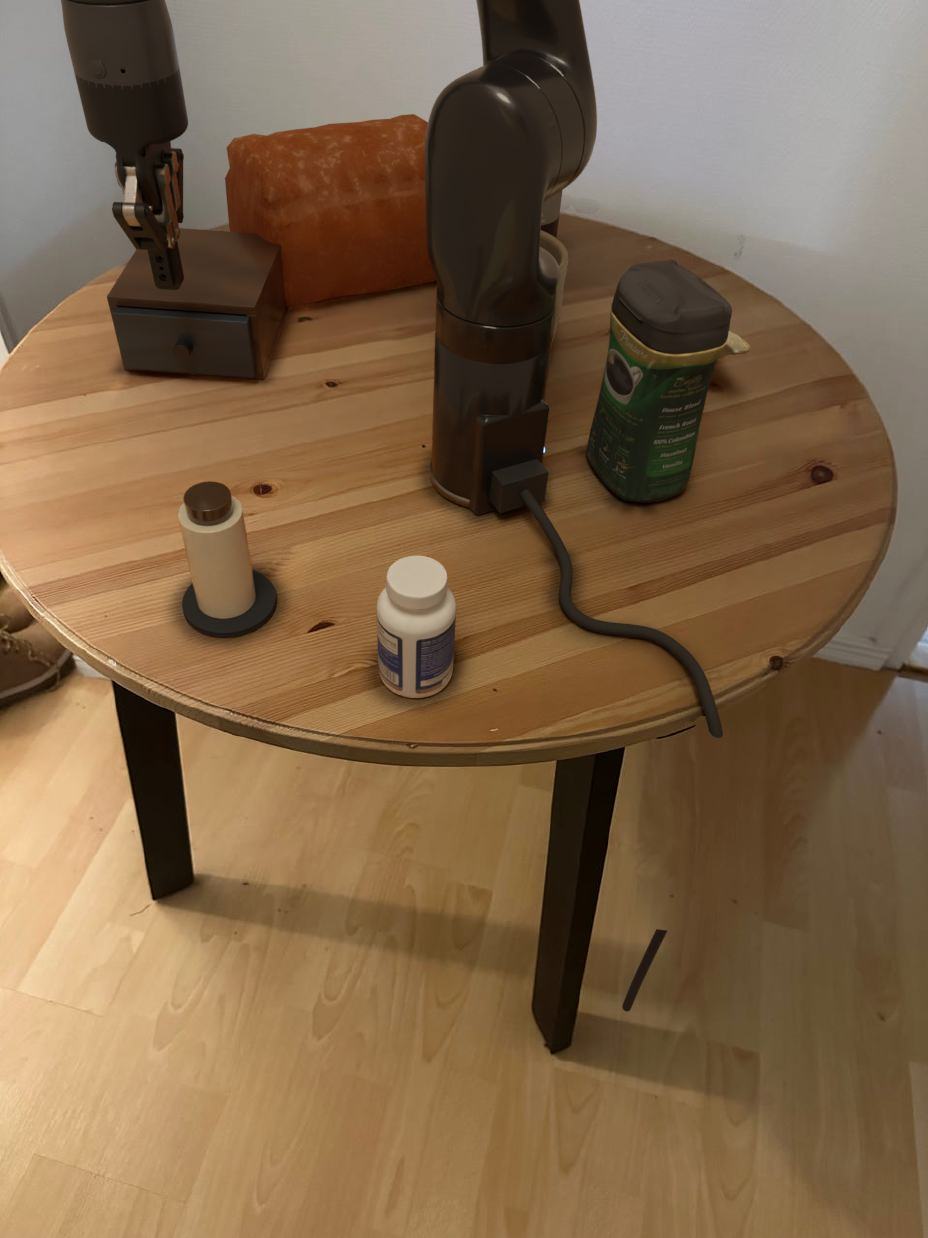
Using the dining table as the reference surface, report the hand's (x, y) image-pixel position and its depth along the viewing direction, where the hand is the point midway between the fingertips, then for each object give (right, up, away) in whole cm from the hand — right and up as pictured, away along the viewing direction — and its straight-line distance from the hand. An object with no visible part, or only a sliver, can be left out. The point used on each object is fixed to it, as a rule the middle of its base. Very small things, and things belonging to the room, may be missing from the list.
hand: (170, 284), depth 83 cm
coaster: (+8, -28, -10) cm, 31 cm away
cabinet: (-1, 0, +16) cm, 16 cm away
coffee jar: (+41, -16, +4) cm, 44 cm away
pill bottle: (+22, -33, -14) cm, 42 cm away
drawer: (-1, -1, +14) cm, 14 cm away
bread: (+12, +12, +28) cm, 33 cm away
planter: (+29, -1, +17) cm, 33 cm away
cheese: (+48, -3, +17) cm, 51 cm away
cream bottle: (+7, -27, -10) cm, 30 cm away
